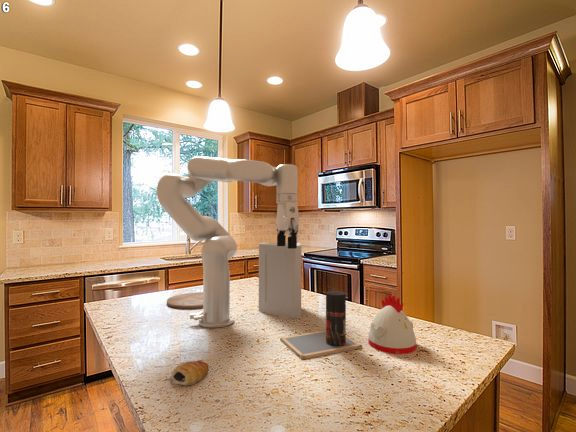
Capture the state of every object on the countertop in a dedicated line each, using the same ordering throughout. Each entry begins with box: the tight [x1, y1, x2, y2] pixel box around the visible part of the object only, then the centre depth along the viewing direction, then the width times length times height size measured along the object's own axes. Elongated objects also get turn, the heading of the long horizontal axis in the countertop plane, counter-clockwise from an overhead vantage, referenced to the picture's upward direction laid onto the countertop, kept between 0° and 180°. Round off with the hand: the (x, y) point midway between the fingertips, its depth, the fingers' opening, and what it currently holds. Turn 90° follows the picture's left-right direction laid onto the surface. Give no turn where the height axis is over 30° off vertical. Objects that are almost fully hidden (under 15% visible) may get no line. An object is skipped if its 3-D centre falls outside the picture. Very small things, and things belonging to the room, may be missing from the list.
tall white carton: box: [258, 242, 302, 320], centre depth 134 cm, size 19×15×28 cm
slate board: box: [280, 330, 363, 360], centre depth 98 cm, size 20×15×1 cm
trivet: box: [166, 291, 203, 310], centre depth 148 cm, size 25×25×2 cm
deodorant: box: [325, 290, 347, 346], centre depth 97 cm, size 6×6×15 cm
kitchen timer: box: [368, 294, 417, 355], centre depth 98 cm, size 14×14×15 cm
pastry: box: [169, 360, 209, 387], centre depth 77 cm, size 9×7×4 cm
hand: (286, 247), depth 114 cm, fingers open, 9 cm apart
